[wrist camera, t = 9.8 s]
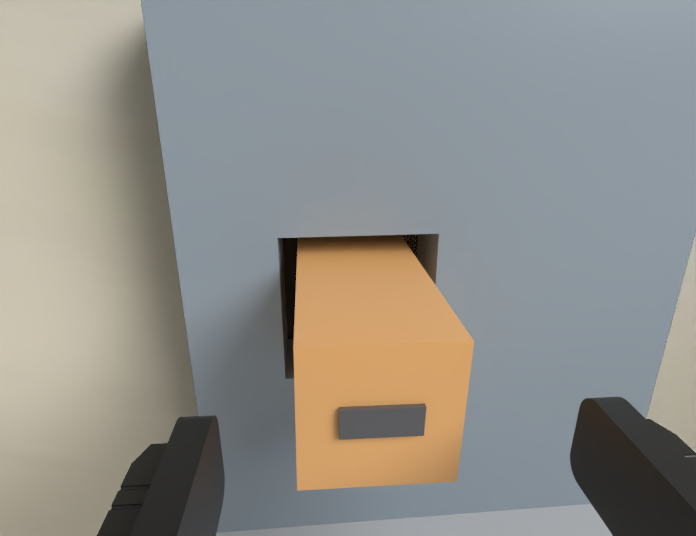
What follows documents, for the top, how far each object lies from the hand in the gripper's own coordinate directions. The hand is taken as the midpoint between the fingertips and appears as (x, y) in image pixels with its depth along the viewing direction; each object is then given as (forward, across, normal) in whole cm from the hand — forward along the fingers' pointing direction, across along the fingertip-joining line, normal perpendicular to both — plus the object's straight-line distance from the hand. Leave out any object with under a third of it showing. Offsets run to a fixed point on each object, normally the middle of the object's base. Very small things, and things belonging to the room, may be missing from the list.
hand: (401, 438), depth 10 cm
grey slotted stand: (+10, -3, 0) cm, 10 cm away
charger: (+10, 0, 0) cm, 10 cm away
